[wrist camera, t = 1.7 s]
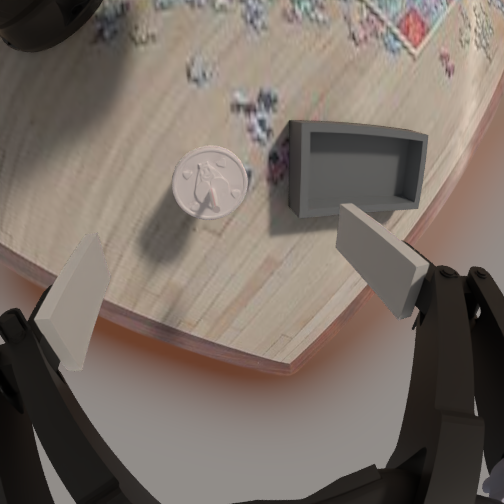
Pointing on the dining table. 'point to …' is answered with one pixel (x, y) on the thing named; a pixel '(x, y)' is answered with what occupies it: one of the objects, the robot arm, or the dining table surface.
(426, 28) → the dining table surface
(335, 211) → the tray
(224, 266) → the dining table surface
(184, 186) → the smoothie
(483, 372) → the robot arm
